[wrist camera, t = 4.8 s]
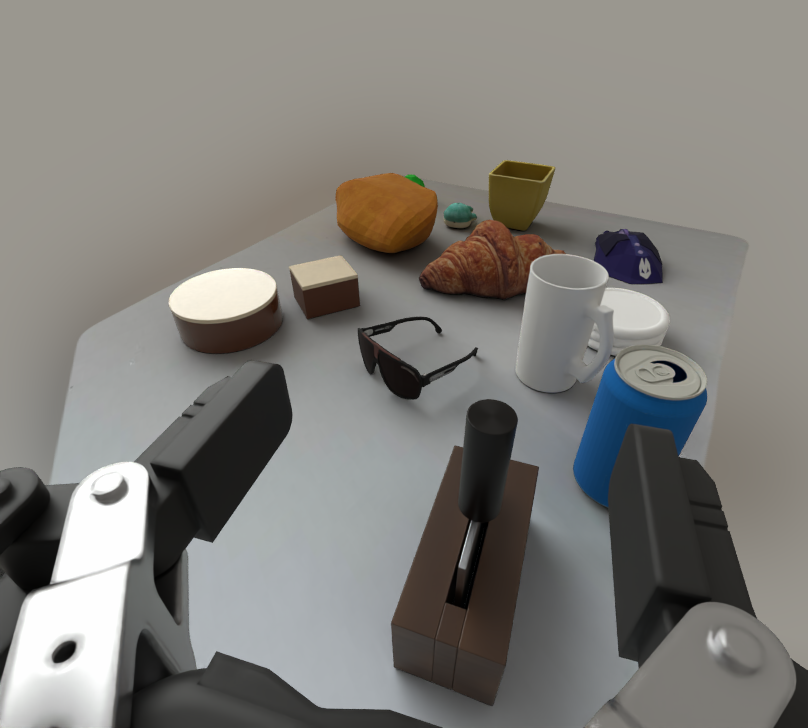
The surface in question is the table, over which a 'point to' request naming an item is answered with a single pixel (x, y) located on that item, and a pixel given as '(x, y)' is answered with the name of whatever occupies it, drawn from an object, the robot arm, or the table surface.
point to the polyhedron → (415, 179)
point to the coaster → (632, 320)
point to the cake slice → (325, 286)
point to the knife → (482, 478)
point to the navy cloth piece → (629, 257)
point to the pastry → (486, 263)
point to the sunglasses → (399, 362)
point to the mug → (563, 322)
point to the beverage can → (638, 408)
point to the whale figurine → (459, 215)
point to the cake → (226, 310)
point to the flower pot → (518, 192)
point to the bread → (386, 212)
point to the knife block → (490, 598)
